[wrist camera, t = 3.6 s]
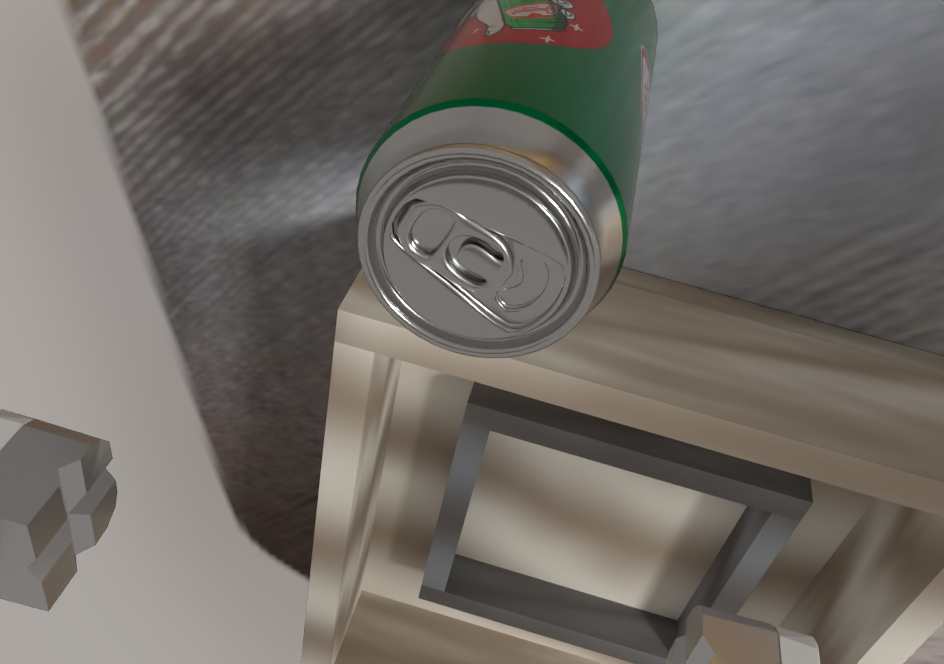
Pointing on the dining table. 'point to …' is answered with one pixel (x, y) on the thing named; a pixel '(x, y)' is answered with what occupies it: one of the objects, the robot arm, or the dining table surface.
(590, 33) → the soda can
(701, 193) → the dining table surface
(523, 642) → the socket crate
